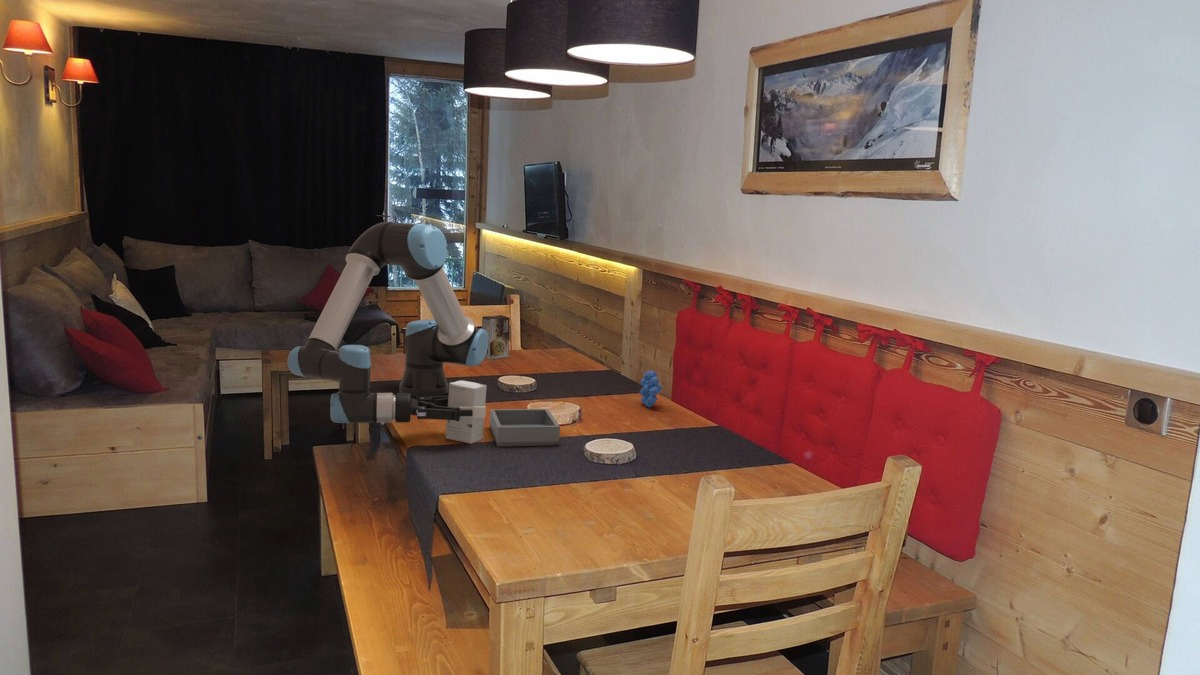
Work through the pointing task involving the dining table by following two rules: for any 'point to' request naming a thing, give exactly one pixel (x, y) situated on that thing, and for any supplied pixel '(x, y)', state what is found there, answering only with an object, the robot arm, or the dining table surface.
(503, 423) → the tote
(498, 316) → the coffee box
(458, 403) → the skincare box
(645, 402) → the grapes
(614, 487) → the dining table surface
